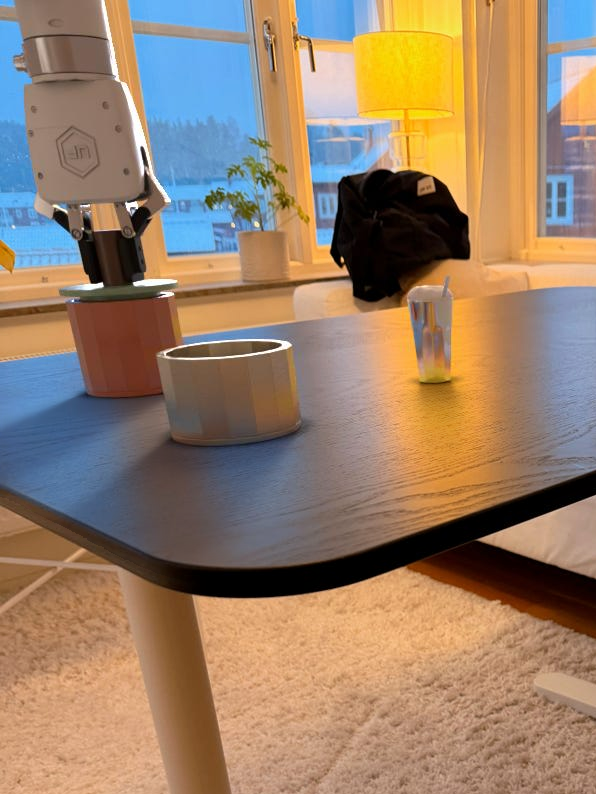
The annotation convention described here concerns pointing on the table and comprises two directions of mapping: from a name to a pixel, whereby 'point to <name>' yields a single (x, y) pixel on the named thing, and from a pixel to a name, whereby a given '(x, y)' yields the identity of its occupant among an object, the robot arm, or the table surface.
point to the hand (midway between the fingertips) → (117, 280)
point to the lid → (114, 275)
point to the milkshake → (432, 330)
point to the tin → (230, 391)
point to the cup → (123, 343)
